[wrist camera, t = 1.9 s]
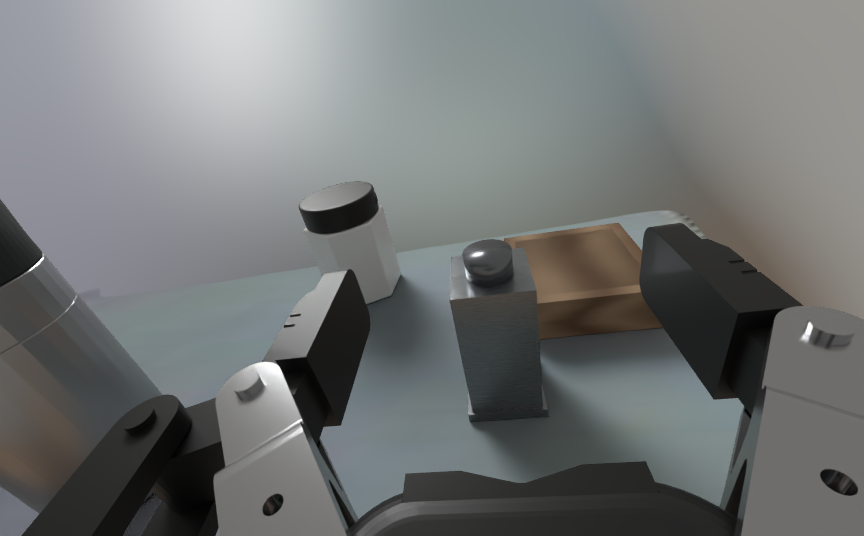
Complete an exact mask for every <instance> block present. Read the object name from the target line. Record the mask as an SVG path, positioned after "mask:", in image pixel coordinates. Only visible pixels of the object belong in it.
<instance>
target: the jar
mask: <svg viewBox="0 0 864 536" xmlns="http://www.w3.org/2000/svg"><path fill="white" fill-rule="evenodd" d="M377 201H378V200H377V196H376V193H375V192H374V188H373V186H372V185H371V184H370V183H367V182H361V181H356V182H346V183H341V184H337V185H333V186H330V187H326V188H324V189H321V190H319V191H316V192H314V193H312V194H311V195H309V196H307V197H306V198H304V199H303V200H302V201H301V202H300V204H299V210H300V212H301V215H302V217H303V220H304V222H305V225H306V228H305V229H304V233H305V236H306V238H307V241H308V243H309V246H310V248H311V250H312V253H313V255H314V257H315V260H316V263H317V265H318V267H319V270H320V272H321V275H322V277H323V275H324V274H325V273H326V272H332V271H339V270H346V269H351V270H353V272H354V273H355V275H356V278H357V280H358V283H359V286H360V289H361V292H362V294H363V297H364V300H365V303H366V304H369V303H372V302H374V301H377V300H380V299H383V298H386V297H388V296H391V295H392V293H393V291H394V288H395V286H396V284H397V281H398V279H399V277H400V275H401V271H400V268H399V264H398V261H397V257H396V253H395V250H394V246H393V243H392V239H391V235H390V232H389V228H388V225H387V221H386V218H385V214H384V210H383V207H382V206H381V205H378V202H377Z"/></svg>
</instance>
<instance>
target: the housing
mask: <svg viewBox="0 0 864 536" xmlns="http://www.w3.org/2000/svg"><path fill="white" fill-rule="evenodd" d="M450 304H451V309H452V314H453V319H454V324H455V329H456V334H457V338H458V343H459V348H460V353H461V358H462V363H463V368H464V372H465V377H466V382H467V387H468V415H469V420H470V422H477V421H492V420H508V419H523V418H538V417H548V407H547V403H546V399H545V394H544V390H543V386H542V380H541V362H540V343H539V325H538V306H537V290H536V286H535V283H534V280H533V276H532V273H531V270H530V266H529V263H528V260H527V256H526V253H525V250H524V247H522V248H514V249H512V248H511V246H510V245H509V244H508V243H506V242H504V241H501V240H494V239H490V240H482V241H478V242H475V243H473V244H471V245H469V246H468V247H466V248H465V249H464V251H463V254H462V256H454V257H451V274H450Z"/></svg>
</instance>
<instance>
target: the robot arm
mask: <svg viewBox="0 0 864 536" xmlns="http://www.w3.org/2000/svg"><path fill="white" fill-rule="evenodd" d="M639 283H640V290H641V293H642V296H643V298H644V300H645V302H646V303H647V305H648V306H649V308H650V309H651V311H652V312H653V313H654V315H655V316H656V318H657V319H658V320H659V322H660V323H661V325H662V326H663V328H664V329H665V330H666V332H667V333H668V335H669V336H670V338H671V339H672V340H673V342H674V343H675V345H676V346H677V348H678V349H679V350H680V352H681V353H682V355H683V356H684V358H685V359H686V360H687V362H688V363H689V365H690V366H691V368H692V369H693V370H694V372H695V373H696V375H697V376H698V378H699V379H700V380H701V382H702V383H703V385H704V386H705V388H706V389H707V390H708V392H709V393H710V395H711V396H712V398H713V399H728V398H739V400H740V401H741V402H742V404H743V405H744V408H743V411H742V414H741V417H740V421H739V426H738V430H737V435H736V439H735V444H734V448H733V453H732V457H731V462H730V466H729V471H728V475H727V480H726V484H725V488H724V492H723V496H722V499H721V503H720V506H719V507H718V506H716V505H714V504H712V503H710V502H708V501H706V500H704V499H703V498H701V497H698V496H696V495H693V494H691V493H689V492H686V491H684V490H681V489H678V488H675V487H671V486H668V485H665V484H661V483H656V482H655V481H654V479H653V477H652V475H651V472H650V470H649V468H648V466H647V463H646V461H644V462H625V463H605V464H586V465H580V466H577V467H574V468H570V469H567V470H564V471H561V472H558V473H555V474H552V475H549V476H546V477H543V478H540V479H537V480H534V481H530V482H527V483H514V482H510V481H505V480H500V479H496V478H491V477H486V476H482V475H477V474H472V473H468V472H463V471H448V472H429V473H409V474H406V475H405V483H404V491H403V493H402V494H399V495H396V496H394V497H392V498H390V499H388V500H386V501H384V502H382V503H380V504H379V505H377V506H376V507H374V508H372V509H371V510H370V511H368V512H367V513H366V514H365V515H363V516H362V517H361V518H360V519H358V517H357V515H356V513H355V511H354V510H353V508H352V506H351V504H350V501H349V499H348V497H347V495H346V493H345V491H344V488H343V486H342V484H341V482H340V480H339V478H338V475H337V473H336V471H335V469H334V467H333V464H332V462H331V460H330V458H329V456H328V454H327V451H326V449H325V447H324V445H323V443H322V441H321V439H320V436H321V433H322V430H323V427H326V426H340V425H341V423H342V420H343V416H344V413H345V410H346V407H347V403H348V400H349V397H350V393H351V390H352V387H353V384H354V380H355V377H356V374H357V370H358V367H359V364H360V361H361V357H362V354H363V351H364V347H365V344H366V341H367V337H368V334H369V331H370V316H369V311H368V308H367V305H366V303H365V300H364V297H363V294H362V292H361V289H360V286H359V283H358V280H357V278H356V275H355V273H354V272H353V270H351V269H346V270H339V271H332V272H326V273H325V274H324V275H323V277H322V278H321V280H320V282H319V284H318V285H317V287H316V289H315V291H310V292H309V293H308V294H307V295H306V296H304V297H303V298H302V299H301V300H300V301H299V302H298V303H297V304H296V306H295V308H294V309H293V311H292V313H291V314H290V317H289V318H288V319H287V321H286V322H285V324H284V328H282V329H281V331H280V332H279V334H278V336H277V337H276V339H275V341H274V342H273V344H272V346H271V347H270V349H269V350H268V352H267V354H266V355H265V357H264V359H263V360H262V362H261V363H257V364H254V365H251V366H248V367H246V368H244V369H242V370H241V371H239V372H238V373H236V374H235V375H233V376H232V377H231V378H230V379H229V380H228V381H227V382H226V383H225V384H224V385H223V386H222V387H221V389H220V390H219V392H218V394H217V396H216V398H214V399H211V400H208V401H205V402H202V403H200V404H197V405H194V406H191V407H188V408H185V407H184V406H183V405H182V404H181V402H180V401H179V400H178V399H177V398H176V397H175V396H173V395H162V393H161V392H160V391H159V390H158V388H157V387H156V386H155V385H154V384H153V382H152V381H151V380H150V379H149V378H148V377H147V375H146V374H145V373H144V372H143V371H142V369H141V368H140V367H139V366H138V365H137V363H136V362H135V361H134V360H133V359H132V358H131V356H130V355H129V354H128V353H127V352H126V350H125V349H124V348H123V347H122V346H121V344H120V343H119V342H118V341H117V340H116V339H115V337H114V336H113V335H112V334H111V333H110V331H109V330H108V329H107V328H106V327H105V325H104V324H103V323H102V322H101V321H100V320H99V318H98V317H97V316H96V315H95V314H94V312H93V311H92V310H91V309H90V308H89V306H88V305H87V304H86V303H85V302H84V301H83V299H82V298H81V297H80V296H79V295H78V293H77V292H75V290H74V289H73V288H72V287H71V286H70V284H69V283H68V282H67V281H66V280H65V279H64V277H63V276H62V275H61V274H60V272H59V271H58V270H57V269H56V268H55V266H54V265H53V264H52V263H51V262H50V261H49V259H48V258H47V257H46V256H45V255H44V254H43V253H42V251H41V250H40V249H39V248H38V247H37V245H36V244H35V243H34V242H33V241H32V240H31V238H30V237H29V236H28V235H27V233H26V232H25V231H24V230H23V229H22V227H21V226H20V225H19V223H18V222H17V221H16V219H15V218H14V217H13V216H12V214H11V213H10V211H9V210H8V209H7V207H6V206H5V205H4V203H3V202H2V201H1V200H0V486H1V487H2V488H4V489H5V490H7V491H8V492H10V493H11V494H12V495H14V496H15V497H17V498H18V499H19V500H20V501H22V502H23V503H25V504H26V505H28V506H29V507H31V508H32V509H34V510H35V511H36V512H38V513H39V515H38V516H37V518H36V519H35V520H34V521H33V522H32V524H31V525H30V526H29V527H28V528H27V530H26V531H25V532H24V533H23V534H22V536H123V534H124V532H125V530H126V528H127V527H128V525H129V524H130V522H131V520H132V519H133V517H134V516H135V514H136V513H137V511H138V509H139V508H140V506H141V505H142V503H143V502H144V501H145V500H146V499H147V498H148V497H149V496H151V495H152V494H153V493H155V494H156V495H157V496H158V497H159V498H160V499H161V500H162V502H161V504H160V505H159V507H158V509H157V510H156V512H155V514H154V516H153V517H152V519H151V521H150V522H149V524H148V526H147V527H146V529H145V531H144V533H143V534H142V536H215V535H216V533H217V530H218V528H219V534H220V536H864V320H863V319H861V318H858V317H856V316H854V315H851V314H848V313H845V312H842V311H838V310H834V309H830V308H824V307H815V306H803V305H802V304H801V303H799V302H798V301H797V300H795V299H794V298H793V297H792V296H790V295H789V294H788V293H786V292H785V291H784V290H783V289H781V288H780V287H779V286H778V285H776V284H775V283H774V282H772V281H771V280H770V279H769V278H767V277H766V276H765V275H764V274H762V273H761V272H757V269H756V268H755V267H753V266H752V265H751V264H749V263H748V262H744V259H743V258H742V257H740V256H739V255H738V254H737V253H735V252H734V251H733V250H732V249H730V248H729V247H726V246H724V245H721V244H719V243H717V242H714V241H712V240H709V239H701V238H700V237H698V236H697V235H696V234H695V233H694V232H692V231H691V230H690V229H689V228H688V227H686V226H685V225H684V224H682V223H677V224H669V225H662V226H655V227H649V228H647V229H646V231H645V233H644V238H643V248H642V258H641V267H640V277H639Z"/></svg>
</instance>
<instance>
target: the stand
mask: <svg viewBox="0 0 864 536" xmlns="http://www.w3.org/2000/svg"><path fill="white" fill-rule="evenodd" d="M504 242H506V243H508V244H509V245H510V246H511V248H512V249H514V248H522V247H524V250H525V253H526V256H527V260H528V263H529V266H530V270H531V273H532V276H533V280H534V283H535V286H536V290H537V306H538V325H539V339H547V338H558V337H568V336H579V335H589V334H600V333H610V332H620V331H631V330H641V329H652V328H662V327H663V326H662V325H661V323H660V322H659V320H658V319H657V318H656V316H655V315H654V313H653V312H652V311H651V309H650V308H649V306H648V305H647V303H646V302H645V300H644V298H643V296H642V293H641V290H640V283H639V277H640V267H641V258H642V250H641V249H640V248H639V247H638V246H637V244H636V243H635V242H634V241H633V240H632V238H631V237H630V236H629V235H628V234H627V233H626V231H625V230H624V229H623V228H622V227H621V225H620V224H619V223H614V224H606V225H599V226H592V227H584V228H577V229H570V230H563V231H555V232H548V233H541V234H533V235H526V236H519V237H512V238H504Z"/></svg>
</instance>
